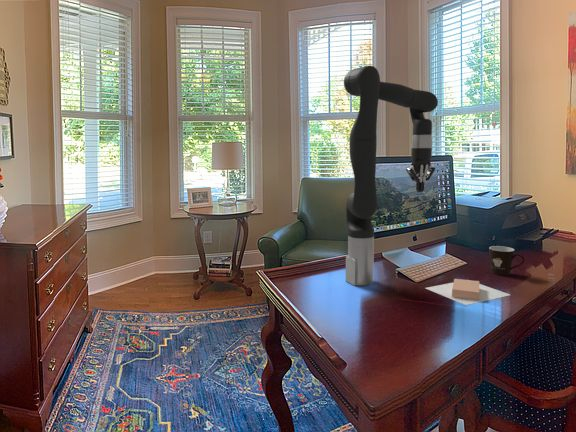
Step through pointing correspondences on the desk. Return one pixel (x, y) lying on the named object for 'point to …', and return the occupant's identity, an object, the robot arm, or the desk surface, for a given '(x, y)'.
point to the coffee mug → (502, 260)
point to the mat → (484, 295)
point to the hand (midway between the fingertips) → (420, 191)
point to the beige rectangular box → (465, 289)
